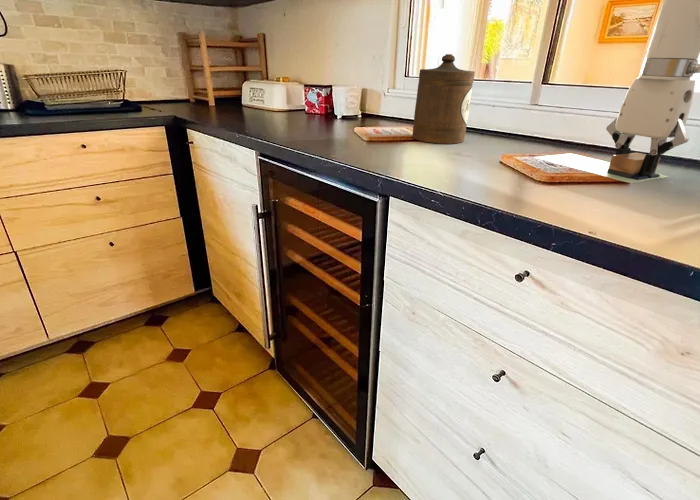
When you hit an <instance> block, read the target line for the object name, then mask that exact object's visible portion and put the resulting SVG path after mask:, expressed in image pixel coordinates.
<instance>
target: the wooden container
mask: <svg viewBox="0 0 700 500" xmlns="http://www.w3.org/2000/svg"><path fill="white" fill-rule="evenodd" d="M441 61H442V62H441V64H439V66H437V67H435V68H420V69H419V72H418V73H419V74H418V84H417V90H416V91H417V92H416V100H415V108H414V115H413V125H412V126H413V127H412V134H411V135H412V138H413V139H414V140H416V141H419V142H423V143H428V144H429V143H430V144H439V145H440V144H442V145H451V144H461V143H463V142H465V138H466V132H467V127H468V120H469V113H470V105H471V100H472V99H471V98H472V91H473V85H474V84H473V83H474V80H475V74H476V72H475V71H473V70H465V69H460V68H458V67H457V66H456V65H455V64H454V63H455V61H456V57H455V56H454V55H453V53H452V54H451V53H450V54H449V53H446V54H445V55H443V56H442V57H441Z"/></svg>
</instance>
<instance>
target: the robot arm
mask: <svg viewBox="0 0 700 500" xmlns="http://www.w3.org/2000/svg"><path fill="white" fill-rule="evenodd" d="M653 28H654V29H653V32H652V36H651V38H650V41H649V44H648V47H647V50H646V53H645V57H644V60H643V62H642V66H641V69H640V73H639V75H638V77H635V78H634V80H633V81H632V83H631V85H630V86H629V88H628V90H627V91H626V94H625V97H624V99H623V102H622V104H621V107H620V109H619V112H618V115H617V117H616V118H614V120H612V121H611V122H610V123H609V125H607V126H606V128H605V129H606V131H607V132H608V134H609V135H610V136H611V138H612V140H613V142H614V147H615V148H616V151H615V154H614V155H620V154H629V153H631V152H632V149H631V147H630V146H631V144H632V142H633V141H634V139H635V137H636V136H637V137H639V136H640V137H644V138H650V147H649V153H648V154H647V153H646V154H647V155H646V156H645V158H644V161H643V164H642V167H641V169H640V172H639V174H640V175H641V176H646V175H651V174H652V172H654V171H655V172H656V170H657V168H656V166H657V164H658V165H659V163H658V161H659V162H660V160H659V158H660V159H661V155H664V154H665V153H667V152H668V151H670V150H672V149H673V148H676V147H679V146H680V145H684V144H686V143H688V142H689V140H690V139H689V135H688V133H687V129H686V128H685V126H686V124H687V120H688V118H689V114H690V111H691V107H692V102H693V97H694V92H695V87H696V86H695V85H696V80H692V79H691V78H692V77H693V75H694V74H700V63H698V62H699V60H698V58H699V56H700V0H662V3H661V7H660V10H659V13H658V16H657V19H656V22H655V25H654V27H653ZM690 79H691V80H690ZM668 138H671V140H669V141H667V140H668ZM657 167H658V166H657ZM655 169H656V170H655Z"/></svg>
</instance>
